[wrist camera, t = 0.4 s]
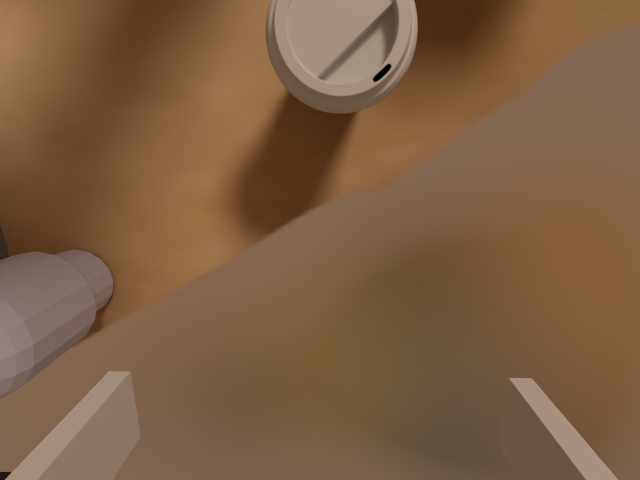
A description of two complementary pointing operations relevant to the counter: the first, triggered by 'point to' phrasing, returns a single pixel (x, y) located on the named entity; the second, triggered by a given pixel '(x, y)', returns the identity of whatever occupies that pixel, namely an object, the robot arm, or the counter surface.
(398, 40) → the coffee cup
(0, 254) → the board
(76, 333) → the soap bottle
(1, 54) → the counter surface
